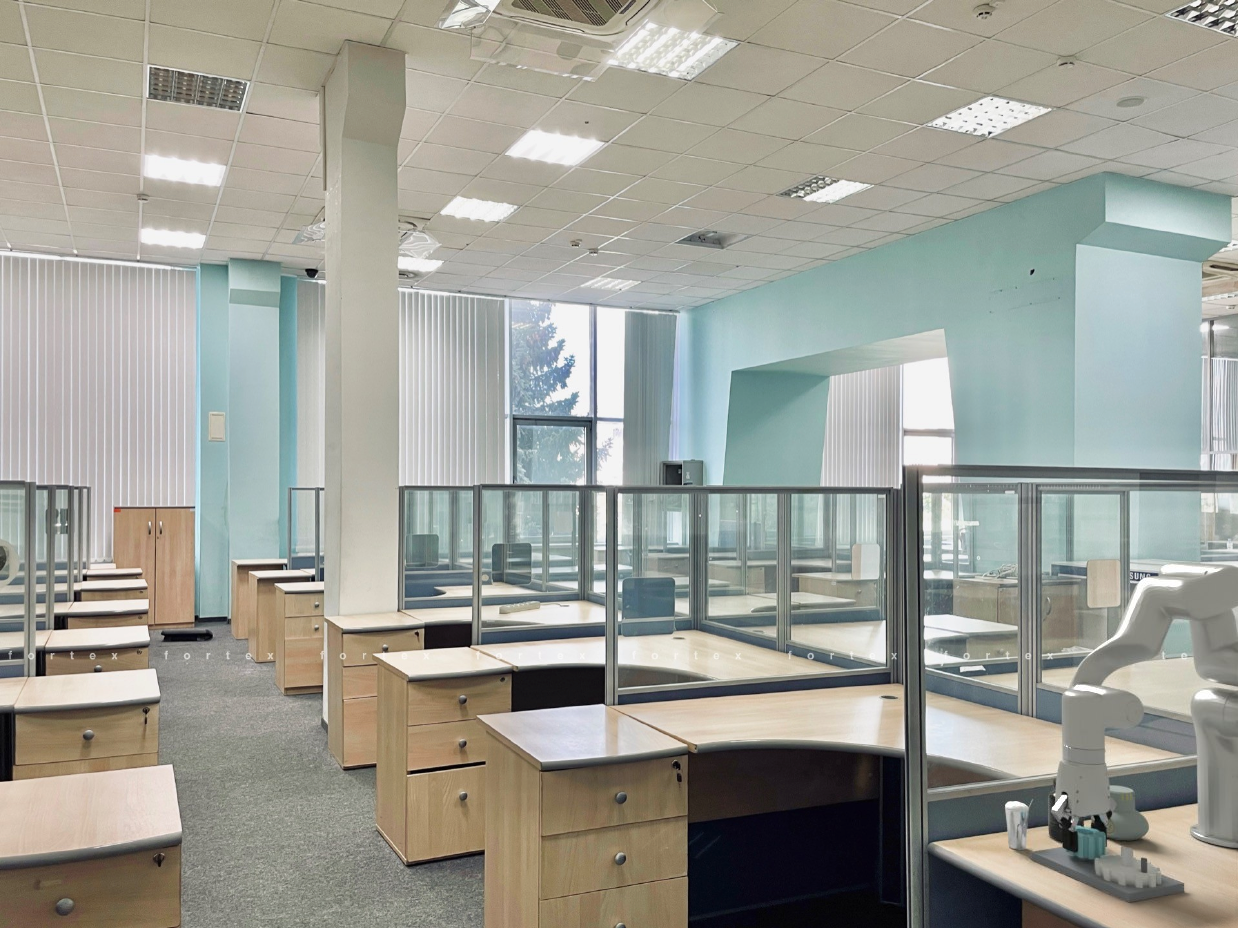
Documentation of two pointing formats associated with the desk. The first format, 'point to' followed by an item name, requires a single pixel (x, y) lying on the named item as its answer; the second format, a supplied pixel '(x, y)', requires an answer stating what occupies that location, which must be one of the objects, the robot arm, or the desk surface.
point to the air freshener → (1125, 816)
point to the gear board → (1098, 881)
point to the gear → (1090, 843)
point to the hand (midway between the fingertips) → (1084, 846)
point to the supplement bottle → (1053, 825)
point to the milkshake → (1017, 824)
